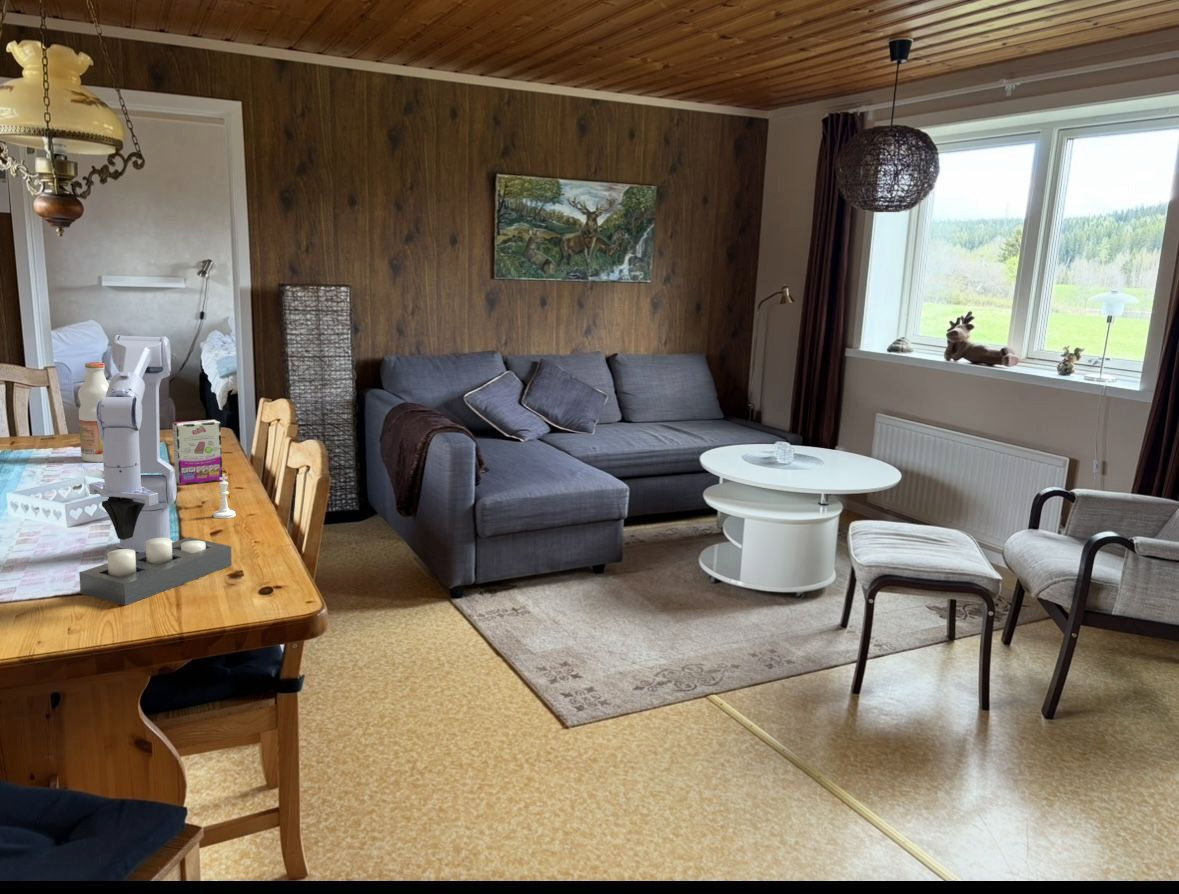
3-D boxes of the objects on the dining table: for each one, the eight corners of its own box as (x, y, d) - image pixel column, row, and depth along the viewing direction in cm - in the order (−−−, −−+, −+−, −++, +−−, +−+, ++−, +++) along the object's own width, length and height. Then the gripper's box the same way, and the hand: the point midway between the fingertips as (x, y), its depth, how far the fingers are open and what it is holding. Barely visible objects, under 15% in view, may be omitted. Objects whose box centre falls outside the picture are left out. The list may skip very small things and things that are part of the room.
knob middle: (141, 565, 162) (140, 542, 161) (160, 558, 166) (159, 536, 165) (158, 569, 160) (157, 546, 159) (177, 562, 164) (177, 540, 163)
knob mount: (80, 593, 154) (79, 572, 154) (190, 555, 177) (189, 537, 176) (125, 605, 150) (124, 583, 150) (231, 565, 173) (231, 546, 172)
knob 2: (176, 566, 170) (175, 545, 169) (194, 560, 174) (193, 539, 173) (193, 570, 168) (192, 548, 167) (211, 564, 172) (210, 542, 171)
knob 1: (102, 578, 154) (101, 554, 154) (124, 571, 158) (123, 547, 158) (120, 582, 153) (119, 558, 152) (142, 575, 157) (140, 551, 156)
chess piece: (209, 514, 205) (208, 473, 203) (230, 511, 208) (229, 471, 206) (218, 519, 201) (217, 478, 199) (239, 516, 205) (238, 475, 203)
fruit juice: (87, 455, 254) (81, 360, 249) (122, 455, 257) (117, 361, 251) (76, 462, 246) (70, 364, 240) (113, 462, 248) (108, 365, 242)
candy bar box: (217, 477, 239) (215, 418, 236) (223, 481, 235) (221, 422, 232) (174, 481, 232) (171, 421, 229) (179, 485, 228) (176, 424, 225)
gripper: (71, 462, 151) (76, 536, 154) (132, 474, 146) (136, 550, 149) (107, 455, 158) (111, 527, 160) (166, 466, 153) (169, 540, 155)
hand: (125, 537), depth 155 cm, fingers closed
